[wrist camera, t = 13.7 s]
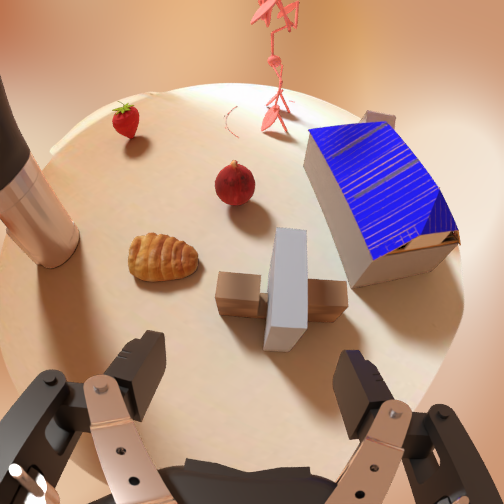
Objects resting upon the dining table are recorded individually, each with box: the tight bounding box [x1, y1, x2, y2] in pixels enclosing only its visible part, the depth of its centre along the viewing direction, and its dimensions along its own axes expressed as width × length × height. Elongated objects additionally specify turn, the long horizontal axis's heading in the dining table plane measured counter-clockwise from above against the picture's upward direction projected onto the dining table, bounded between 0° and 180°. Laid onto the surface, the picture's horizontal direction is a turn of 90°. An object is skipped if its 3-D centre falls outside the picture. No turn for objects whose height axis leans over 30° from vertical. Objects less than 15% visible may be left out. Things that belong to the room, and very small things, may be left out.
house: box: [303, 121, 461, 289], centre depth 35 cm, size 25×16×16 cm, turn 9°
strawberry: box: [112, 101, 139, 139], centre depth 48 cm, size 6×8×10 cm
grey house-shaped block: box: [359, 110, 396, 129], centre depth 47 cm, size 4×7×10 cm, turn 93°
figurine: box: [224, 0, 299, 138], centre depth 42 cm, size 15×26×35 cm, turn 170°
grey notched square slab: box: [263, 227, 308, 352], centre depth 28 cm, size 10×3×10 cm, turn 175°
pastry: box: [128, 233, 198, 282], centre depth 34 cm, size 9×7×4 cm
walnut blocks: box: [215, 271, 348, 322], centre depth 30 cm, size 14×3×6 cm, turn 85°
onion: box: [215, 160, 255, 206], centre depth 38 cm, size 6×6×8 cm
